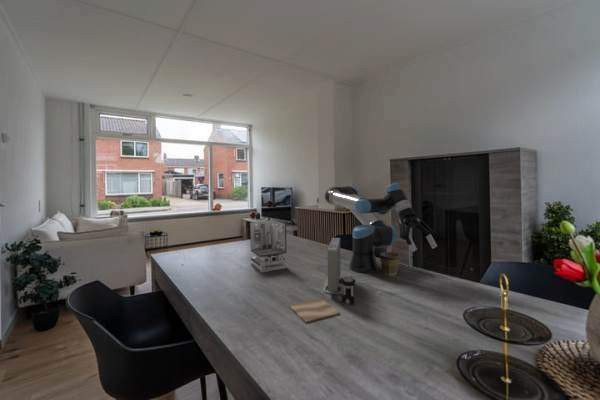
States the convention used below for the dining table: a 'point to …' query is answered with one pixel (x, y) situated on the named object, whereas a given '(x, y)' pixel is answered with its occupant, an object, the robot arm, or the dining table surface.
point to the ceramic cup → (390, 263)
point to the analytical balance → (268, 245)
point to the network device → (333, 268)
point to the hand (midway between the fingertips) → (425, 249)
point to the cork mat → (314, 310)
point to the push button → (348, 290)
